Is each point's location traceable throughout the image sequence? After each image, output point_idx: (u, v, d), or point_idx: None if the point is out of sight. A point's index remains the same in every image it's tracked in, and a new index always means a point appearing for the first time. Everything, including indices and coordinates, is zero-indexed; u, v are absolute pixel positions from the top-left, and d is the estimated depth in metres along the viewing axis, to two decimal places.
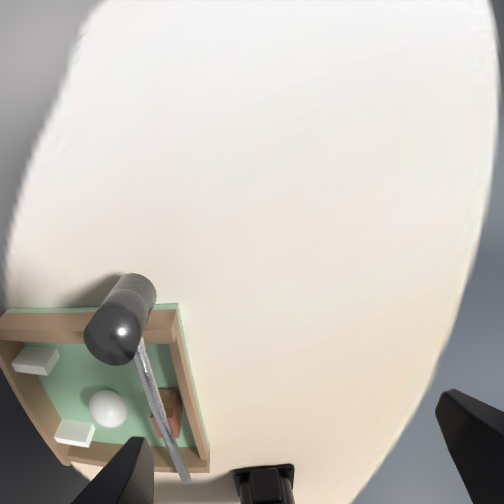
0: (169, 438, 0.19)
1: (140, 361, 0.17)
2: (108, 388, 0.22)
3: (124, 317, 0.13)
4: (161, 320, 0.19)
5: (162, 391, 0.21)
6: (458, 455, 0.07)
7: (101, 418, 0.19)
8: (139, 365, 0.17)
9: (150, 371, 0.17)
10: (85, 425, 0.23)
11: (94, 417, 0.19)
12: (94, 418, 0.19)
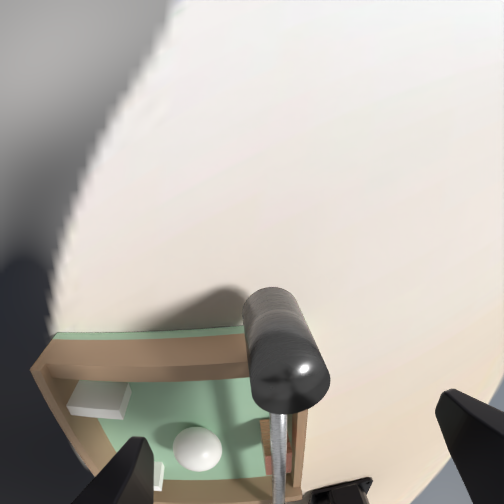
0: (282, 474, 0.16)
1: None
2: (194, 424, 0.19)
3: (313, 349, 0.10)
4: None
5: (268, 422, 0.18)
6: (457, 455, 0.07)
7: (195, 463, 0.16)
8: None
9: None
10: None
11: (184, 462, 0.16)
12: (184, 463, 0.16)
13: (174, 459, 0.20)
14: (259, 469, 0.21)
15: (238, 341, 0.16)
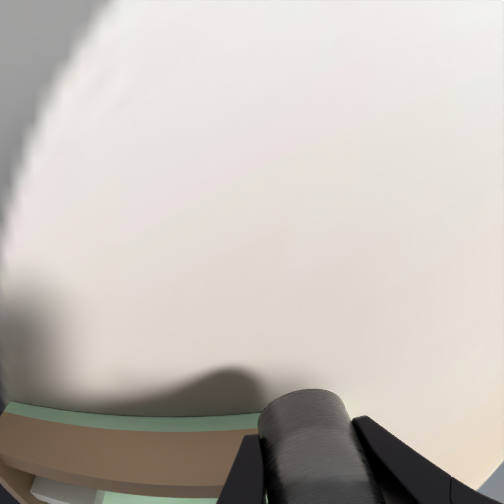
0: None
1: None
2: None
3: None
4: None
5: None
6: None
7: None
8: None
9: None
10: None
11: None
12: None
13: None
14: None
15: None
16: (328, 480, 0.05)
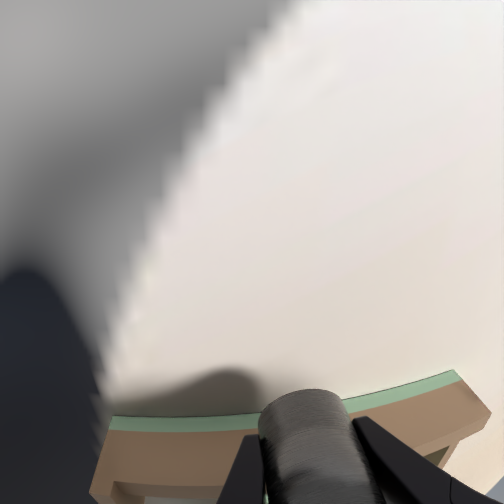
0: None
1: None
2: None
3: None
4: (466, 403, 0.09)
5: None
6: None
7: None
8: None
9: None
10: None
11: None
12: None
13: None
14: None
15: (403, 413, 0.10)
16: (328, 480, 0.05)
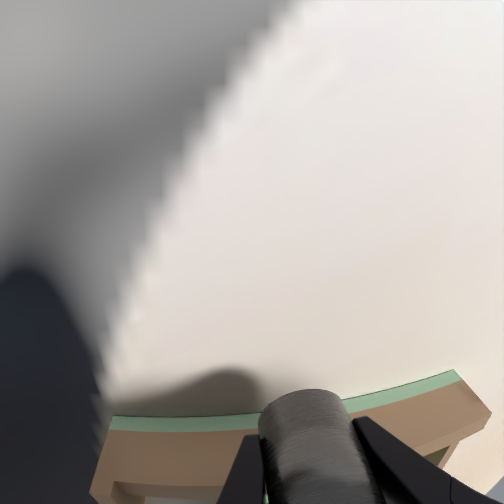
0: None
1: None
2: None
3: None
4: (466, 403, 0.09)
5: None
6: None
7: None
8: None
9: None
10: None
11: None
12: None
13: None
14: None
15: (404, 413, 0.10)
16: (328, 480, 0.05)
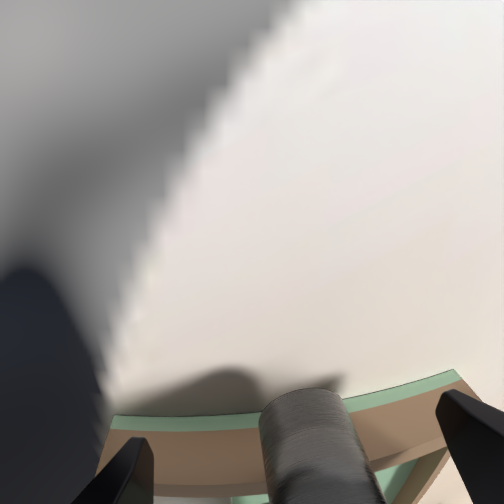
0: None
1: None
2: None
3: None
4: None
5: None
6: (457, 454, 0.07)
7: None
8: None
9: None
10: None
11: None
12: None
13: None
14: None
15: (404, 412, 0.10)
16: (329, 478, 0.05)
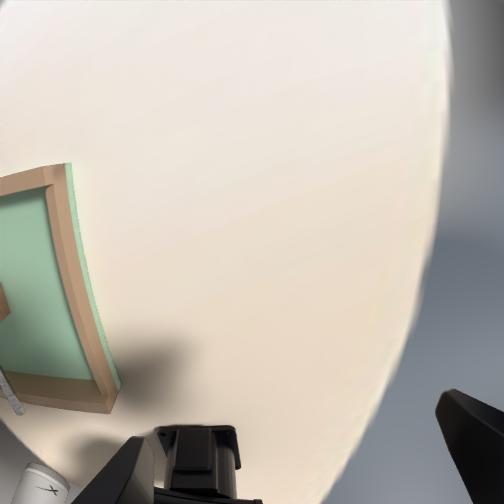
0: None
1: None
2: (4, 284, 0.17)
3: None
4: None
5: None
6: (458, 455, 0.07)
7: None
8: None
9: None
10: None
11: None
12: None
13: (3, 337, 0.18)
14: (72, 364, 0.19)
15: None
16: None
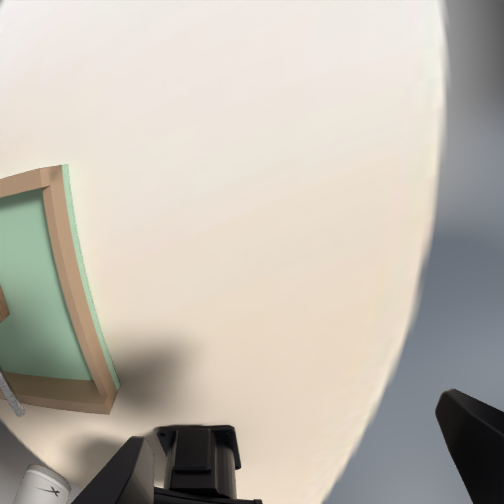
0: None
1: None
2: (3, 286, 0.17)
3: None
4: None
5: None
6: (457, 454, 0.07)
7: None
8: None
9: None
10: None
11: None
12: None
13: (2, 339, 0.18)
14: (71, 365, 0.19)
15: None
16: None
